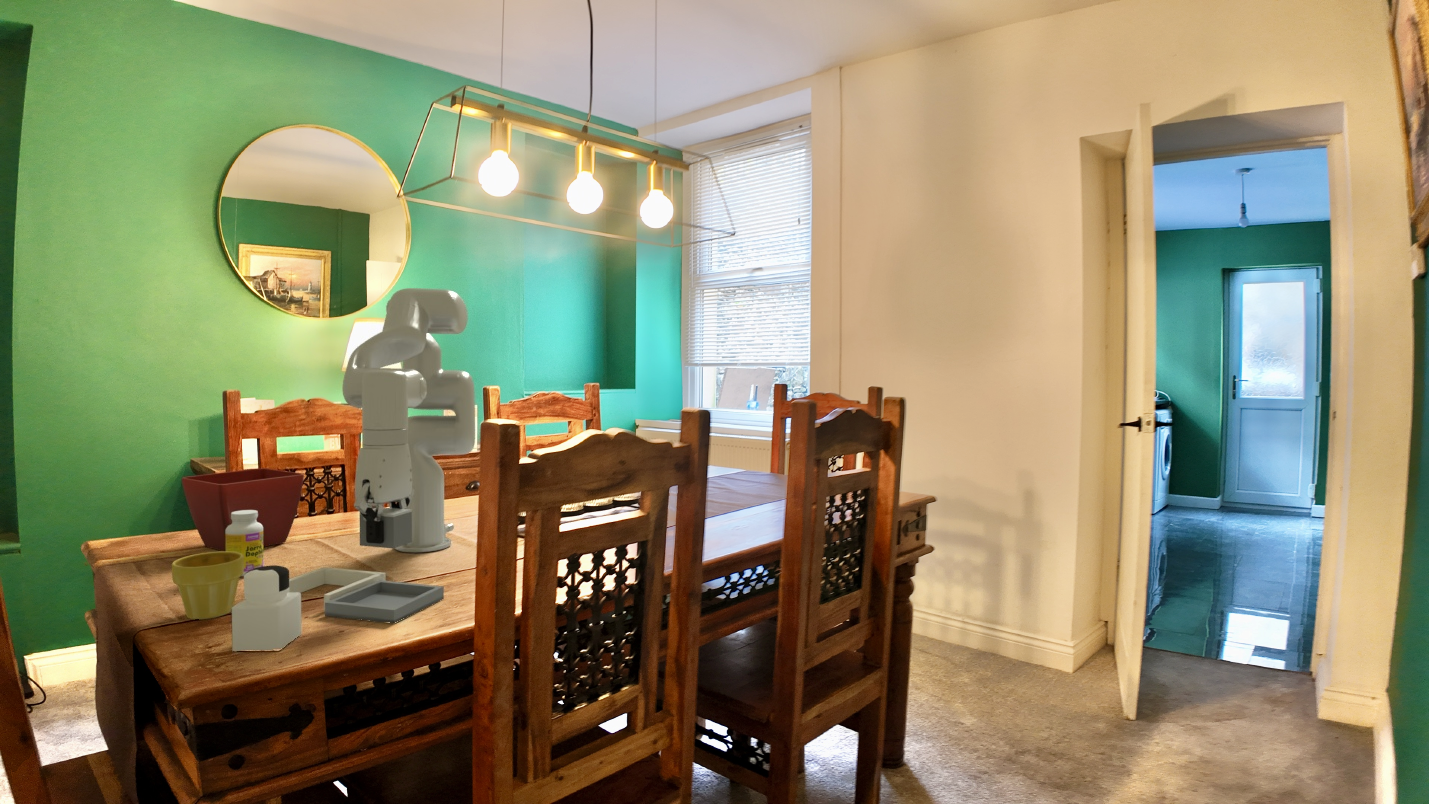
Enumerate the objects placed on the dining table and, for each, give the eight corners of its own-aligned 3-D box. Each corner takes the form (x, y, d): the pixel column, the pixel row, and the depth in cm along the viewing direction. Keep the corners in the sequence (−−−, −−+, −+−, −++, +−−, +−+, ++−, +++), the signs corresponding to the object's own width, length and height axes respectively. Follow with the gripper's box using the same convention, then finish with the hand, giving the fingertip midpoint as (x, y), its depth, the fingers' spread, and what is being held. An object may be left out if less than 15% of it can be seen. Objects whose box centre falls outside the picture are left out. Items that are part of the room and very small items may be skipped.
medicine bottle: (256, 635, 119) (255, 562, 119) (302, 635, 120) (301, 562, 119) (231, 653, 112) (229, 575, 112) (280, 652, 113) (279, 574, 112)
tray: (379, 592, 142) (379, 580, 142) (443, 599, 139) (443, 586, 139) (325, 616, 129) (324, 602, 129) (394, 624, 126) (394, 610, 125)
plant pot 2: (180, 628, 122) (179, 570, 121) (166, 613, 129) (165, 558, 128) (252, 613, 130) (251, 558, 129) (235, 600, 137) (234, 547, 136)
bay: (324, 581, 149) (323, 566, 149) (385, 587, 145) (385, 572, 145) (263, 604, 135) (262, 587, 134) (329, 611, 131) (329, 595, 131)
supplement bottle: (245, 578, 150) (244, 516, 149) (217, 576, 151) (216, 514, 151) (271, 569, 156) (270, 509, 156) (244, 567, 158) (243, 508, 157)
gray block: (378, 539, 137) (378, 507, 136) (411, 542, 135) (411, 509, 135) (359, 545, 132) (359, 512, 131) (393, 548, 130) (393, 514, 130)
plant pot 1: (180, 547, 174) (179, 476, 173) (265, 532, 190) (264, 467, 189) (221, 559, 164) (220, 484, 163) (307, 542, 180) (306, 474, 179)
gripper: (398, 434, 142) (399, 528, 142) (332, 442, 125) (333, 548, 126) (432, 435, 140) (433, 530, 141) (370, 444, 123) (371, 552, 124)
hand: (386, 538), depth 133 cm, fingers closed on gray block, 5 cm apart
